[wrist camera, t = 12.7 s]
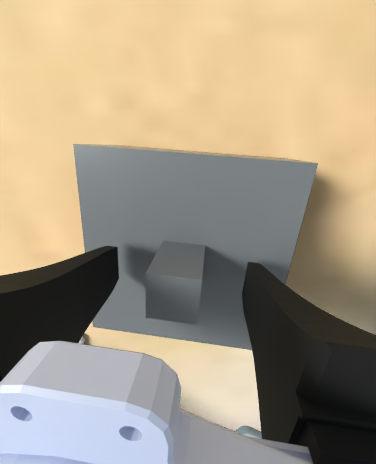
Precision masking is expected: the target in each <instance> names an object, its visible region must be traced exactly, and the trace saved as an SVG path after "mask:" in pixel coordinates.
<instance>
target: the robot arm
mask: <svg viewBox="0 0 376 464" xmlns="http://www.w3.org/2000/svg"><path fill="white" fill-rule="evenodd" d="M118 279H119V267H118V247H115V246H103V247H100V248H97V249H94V250H92V251H89V252H86V253H84V254H81V255H78V256H76V257H73V258H70V259H67V260H64V261H61V262H58V263H55V264H52V265H48V266H45V267H41V268H37V269H33V270H28V271H23V272H18V273H13V274H8V275H2V276H0V464H376V335H374V334H371V333H369V332H366V331H364V330H362V329H360V328H357V327H355V326H353V325H351V324H348V323H346V322H344V321H342V320H340V319H338V318H336V317H334V316H332V315H331V314H329V313H327V312H325V311H323V310H321V309H320V308H318V307H316V306H315V305H313V304H311V303H310V302H308V301H307V300H305V299H304V298H302V297H301V296H299V295H298V294H297V293H295V292H294V291H293V290H291V289H290V288H289V287H287V286H286V285H285V284H284V283H282V282H281V281H280V280H279V279H278V278H276V277H275V276H274V275H273V274H272V273H271V272H270V271H269V270H267V269H266V268H265V267H264V266H263V265H262V264H260V263H254V262H248V264H247V269H246V275H245V280H244V285H243V290H242V302H243V311H244V316H245V320H246V325H247V329H248V333H249V338H250V342H251V346H252V351H253V356H254V364H255V372H256V381H257V390H258V399H259V410H260V421H261V433H262V439H259V438H254V437H248V436H244V435H242V434H239V433H237V432H235V431H232V430H230V429H227V428H225V427H223V426H220V425H218V424H215V423H213V422H211V421H208V420H206V419H203V418H201V417H198V416H196V415H194V414H191V413H189V412H186V411H184V410H182V409H181V408H180V396H181V386H180V382H179V379H178V375H177V373H176V372H175V371H174V370H173V369H171V368H170V367H169V366H168V365H167V364H166V363H165V362H164V361H163V360H161V359H159V358H156V357H153V356H150V355H147V354H144V353H138V352H131V351H125V350H118V349H112V348H105V347H98V346H92V345H85V344H84V339H83V334H84V332H85V331H86V329H87V328H88V326H89V325H90V323H91V322H92V320H93V319H94V318H95V316H96V315H97V313H98V312H99V311H100V309H101V308H102V306H103V305H104V303H105V302H106V301H107V299H108V298H109V296H110V295H111V293H112V291H113V290H114V288H115V286H116V284H117V282H118Z"/></svg>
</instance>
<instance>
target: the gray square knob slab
mask: <svg viewBox="0 0 376 464" xmlns="http://www.w3.org/2000/svg"><path fill="white" fill-rule="evenodd" d="M73 145H74V155H75V164H76V173H77V182H78V192H79V201H80V210H81V219H82V228H83V238H84V247H85V253H86V252H89V251H92V250H94V249H97V248H100V247H103V246H115V247H118V267H119V279H118V282H117V284H116V286H115V288H114V290H113V291H112V293H111V295H110V296H109V298H108V299H107V301H106V302H105V303H104V305H103V306H102V308H101V309H100V311H99V312H98V313H97V315H96V316H95V318H94V319H93V320H92V321H93V327H97V328H104V329H111V330H118V331H124V332H131V333H138V334H145V335H152V336H159V337H166V338H173V339H180V340H187V341H194V342H201V343H208V344H214V345H221V346H228V347H235V348H242V349H249V350H252V346H251V342H250V338H249V333H248V329H247V325H246V320H245V316H244V311H243V302H242V290H243V285H244V280H245V275H246V269H247V264H248V262H254V263H260V264H262V265H263V266H264V267H265V268H266V269H267V270H269V271H270V272H271V273H272V274H273V275H274V276H275V277H276V278H278V279H279V280H280V281H281V282H282V283H284V284H285V283H286V279H287V276H288V272H289V268H290V265H291V261H292V257H293V254H294V250H295V246H296V243H297V239H298V235H299V232H300V228H301V224H302V221H303V217H304V213H305V209H306V206H307V202H308V198H309V195H310V191H311V187H312V184H313V180H314V176H315V173H316V169H317V165H318V163H312V162H305V161H299V160H292V159H285V158H272V157H259V156H246V155H234V154H221V153H208V152H195V151H182V150H169V149H157V148H144V147H131V146H118V145H87V144H73Z"/></svg>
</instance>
